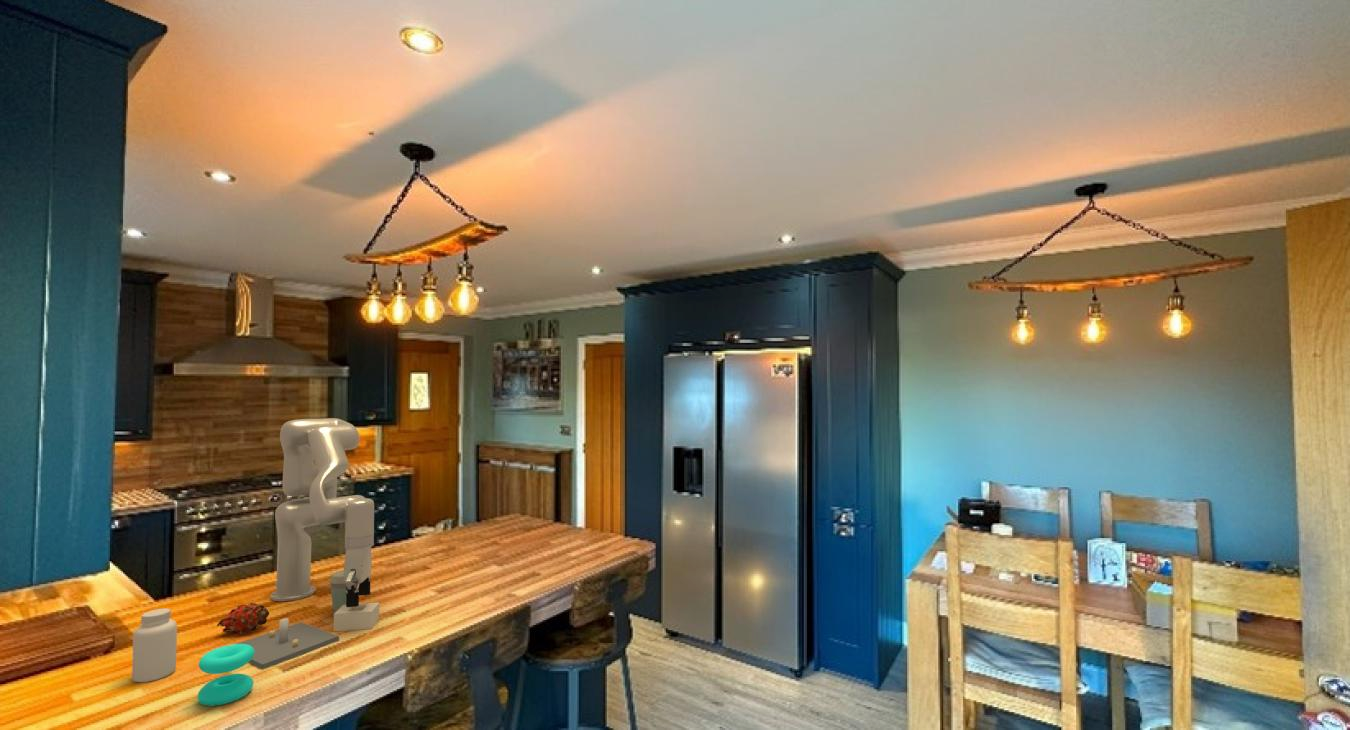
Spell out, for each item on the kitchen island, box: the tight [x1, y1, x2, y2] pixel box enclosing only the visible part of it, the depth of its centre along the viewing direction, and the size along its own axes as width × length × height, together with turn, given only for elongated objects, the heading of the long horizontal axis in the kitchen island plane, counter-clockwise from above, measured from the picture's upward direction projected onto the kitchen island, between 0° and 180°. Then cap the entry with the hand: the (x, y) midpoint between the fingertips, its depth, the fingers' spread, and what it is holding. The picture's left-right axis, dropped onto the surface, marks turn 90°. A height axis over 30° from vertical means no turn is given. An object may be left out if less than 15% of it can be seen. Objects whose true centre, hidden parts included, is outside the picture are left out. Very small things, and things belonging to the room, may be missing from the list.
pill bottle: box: [131, 608, 178, 683], centre depth 140 cm, size 8×8×15 cm
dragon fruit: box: [216, 602, 270, 636], centre depth 165 cm, size 8×8×12 cm
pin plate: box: [235, 617, 340, 670], centre depth 156 cm, size 19×19×7 cm
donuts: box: [197, 643, 254, 707], centre depth 131 cm, size 10×10×10 cm
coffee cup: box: [328, 569, 356, 615], centre depth 180 cm, size 8×9×12 cm
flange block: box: [333, 602, 380, 632], centre depth 170 cm, size 10×7×5 cm
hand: (358, 600), depth 170 cm, fingers open, 9 cm apart
